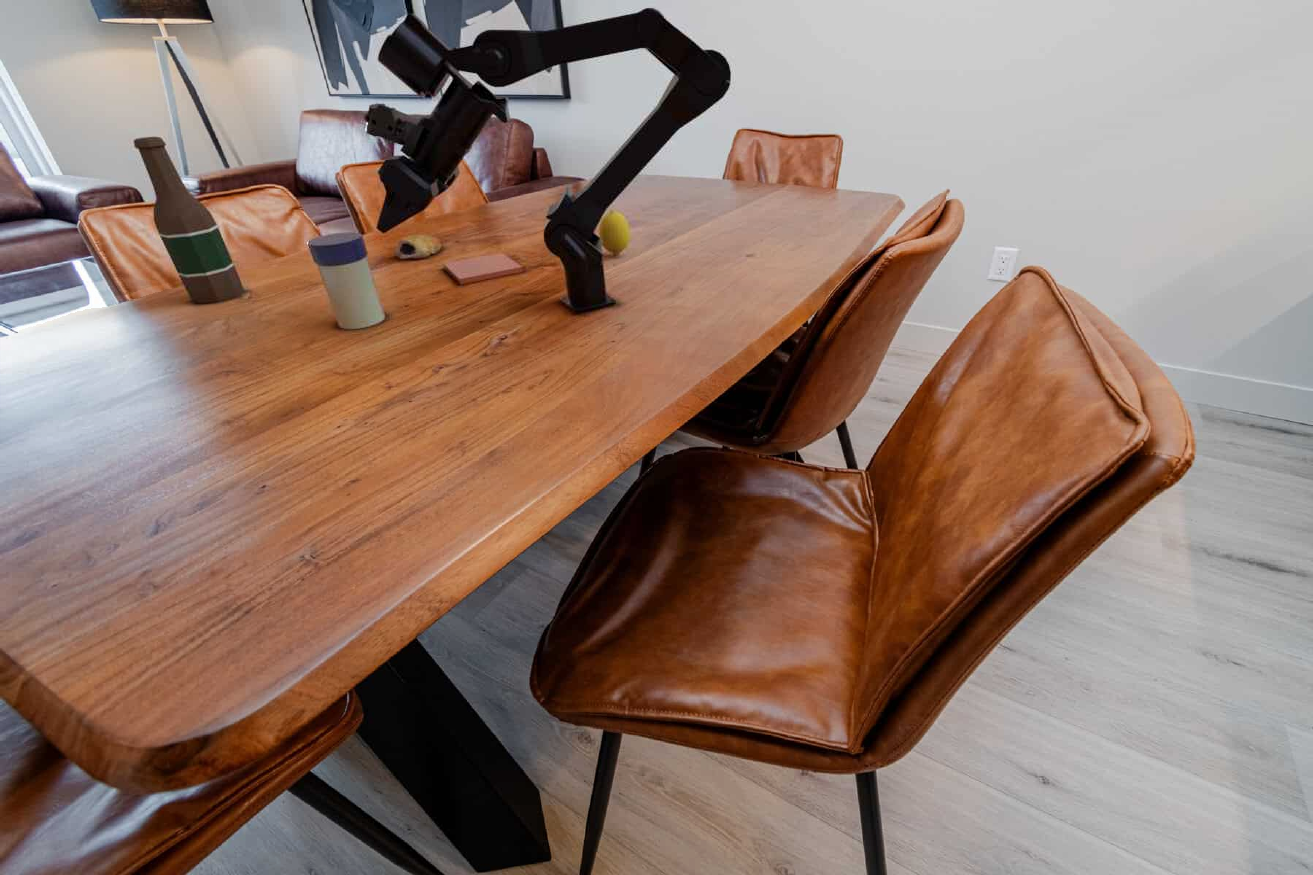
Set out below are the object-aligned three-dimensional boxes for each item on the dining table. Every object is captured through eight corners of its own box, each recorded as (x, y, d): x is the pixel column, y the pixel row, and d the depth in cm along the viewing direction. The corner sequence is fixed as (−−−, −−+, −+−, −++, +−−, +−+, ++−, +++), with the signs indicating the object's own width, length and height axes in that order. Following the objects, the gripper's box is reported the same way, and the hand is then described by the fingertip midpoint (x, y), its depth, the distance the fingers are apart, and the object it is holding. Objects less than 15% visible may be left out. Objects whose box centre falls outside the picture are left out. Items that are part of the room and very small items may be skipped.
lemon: (595, 258, 109) (591, 212, 105) (611, 250, 113) (607, 206, 109) (621, 261, 107) (618, 214, 103) (636, 253, 111) (633, 208, 107)
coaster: (523, 272, 104) (522, 266, 104) (460, 284, 100) (459, 279, 99) (503, 258, 112) (502, 252, 112) (444, 269, 108) (443, 263, 107)
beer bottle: (219, 305, 97) (144, 140, 84) (180, 303, 98) (100, 142, 85) (255, 289, 103) (191, 134, 90) (218, 288, 105) (149, 135, 92)
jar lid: (371, 258, 82) (365, 239, 80) (316, 268, 79) (309, 248, 77) (364, 248, 87) (358, 229, 85) (312, 256, 84) (305, 238, 82)
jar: (388, 322, 87) (364, 242, 80) (341, 332, 84) (312, 250, 78) (381, 309, 91) (357, 233, 85) (336, 319, 89) (308, 240, 83)
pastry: (421, 246, 122) (417, 227, 120) (451, 247, 121) (446, 228, 119) (393, 259, 115) (388, 239, 113) (424, 261, 113) (419, 240, 111)
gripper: (414, 74, 80) (356, 169, 85) (371, 78, 64) (303, 193, 70) (486, 136, 85) (426, 222, 90) (462, 153, 69) (391, 256, 74)
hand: (390, 222), depth 81 cm, fingers open, 9 cm apart
